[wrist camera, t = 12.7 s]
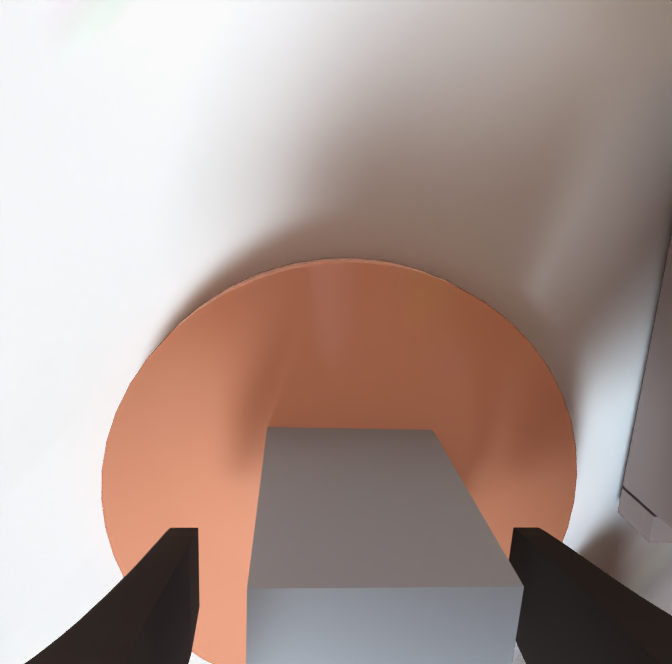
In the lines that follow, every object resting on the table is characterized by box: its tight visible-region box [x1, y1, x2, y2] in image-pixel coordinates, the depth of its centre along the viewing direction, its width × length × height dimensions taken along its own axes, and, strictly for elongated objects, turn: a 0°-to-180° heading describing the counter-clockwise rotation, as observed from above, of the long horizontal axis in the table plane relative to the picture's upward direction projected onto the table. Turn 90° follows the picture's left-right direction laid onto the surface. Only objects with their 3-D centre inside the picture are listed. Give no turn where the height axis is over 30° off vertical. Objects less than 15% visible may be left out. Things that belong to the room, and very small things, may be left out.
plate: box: [102, 258, 577, 664], centre depth 15 cm, size 13×13×1 cm
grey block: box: [246, 427, 524, 664], centre depth 12 cm, size 4×4×6 cm
